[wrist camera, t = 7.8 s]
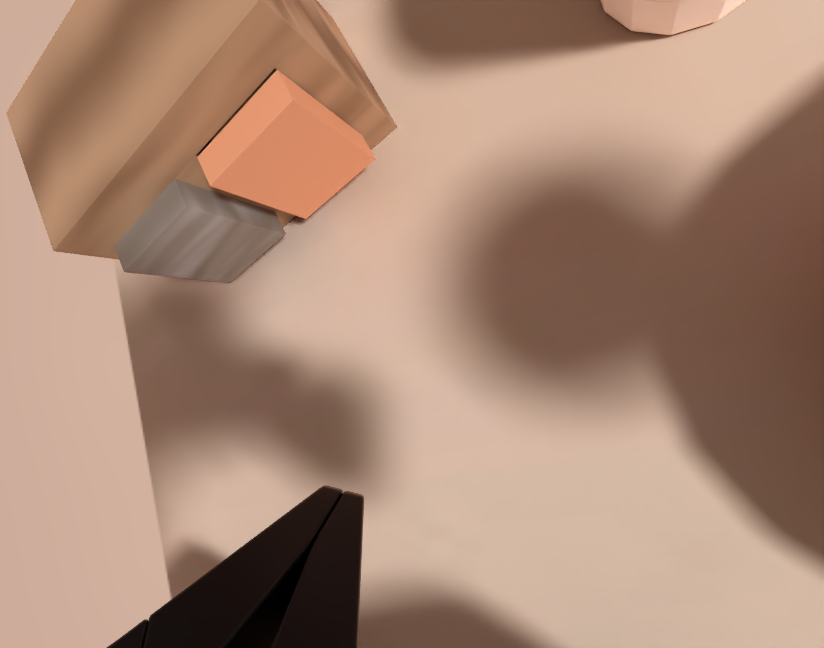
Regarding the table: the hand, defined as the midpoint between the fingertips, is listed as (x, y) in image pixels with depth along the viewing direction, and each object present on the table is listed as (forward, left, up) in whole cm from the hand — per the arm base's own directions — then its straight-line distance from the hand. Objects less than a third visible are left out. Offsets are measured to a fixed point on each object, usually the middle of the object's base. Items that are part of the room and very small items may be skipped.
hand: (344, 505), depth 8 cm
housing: (+11, +15, -13) cm, 23 cm away
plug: (+13, +12, -11) cm, 21 cm away
